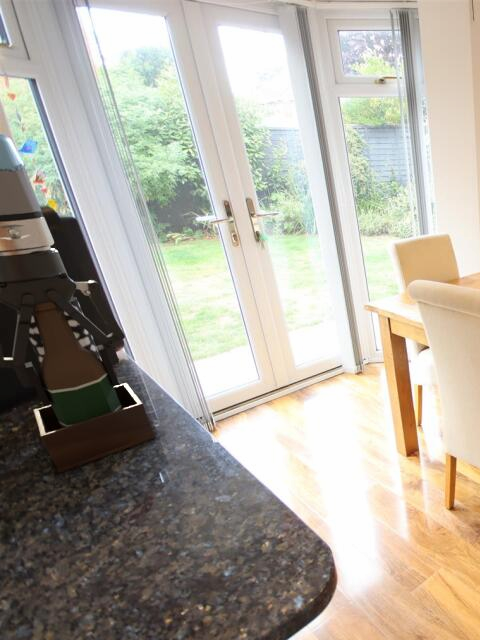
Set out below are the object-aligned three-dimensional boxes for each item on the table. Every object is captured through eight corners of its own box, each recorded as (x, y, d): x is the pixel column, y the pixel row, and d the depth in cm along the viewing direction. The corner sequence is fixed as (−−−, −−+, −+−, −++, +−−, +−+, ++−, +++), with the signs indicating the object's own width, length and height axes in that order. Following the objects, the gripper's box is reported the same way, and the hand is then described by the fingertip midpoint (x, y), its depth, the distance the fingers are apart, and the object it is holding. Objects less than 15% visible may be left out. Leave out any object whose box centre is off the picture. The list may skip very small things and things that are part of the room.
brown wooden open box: (49, 444, 77) (33, 409, 74) (138, 414, 85) (126, 382, 83) (59, 473, 69) (40, 436, 67) (155, 437, 78) (142, 403, 75)
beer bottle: (69, 457, 72) (0, 312, 63) (72, 437, 78) (9, 300, 69) (131, 438, 76) (75, 300, 68) (129, 420, 82) (78, 290, 73)
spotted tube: (59, 399, 92) (15, 303, 85) (111, 385, 97) (75, 294, 90) (60, 413, 86) (14, 312, 79) (116, 397, 92) (78, 301, 84)
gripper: (-96, 267, 56) (-10, 428, 64) (116, 242, 70) (164, 376, 79) (-91, 260, 61) (-11, 411, 69) (107, 238, 75) (152, 365, 83)
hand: (82, 392), depth 74 cm, fingers closed on beer bottle, 8 cm apart
